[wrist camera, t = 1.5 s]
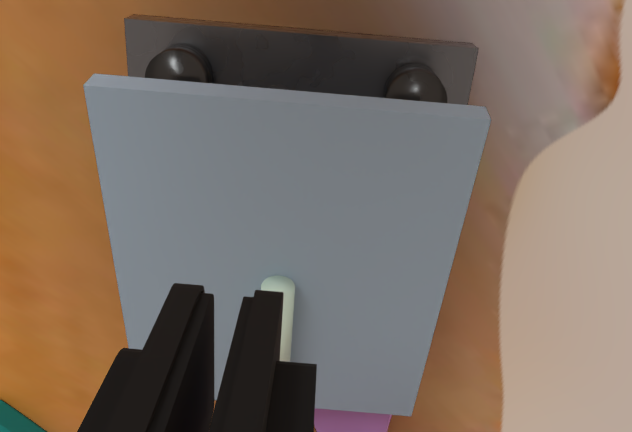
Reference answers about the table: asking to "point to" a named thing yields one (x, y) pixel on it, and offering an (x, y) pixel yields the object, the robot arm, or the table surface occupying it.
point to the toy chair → (350, 421)
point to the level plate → (290, 218)
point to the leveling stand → (299, 59)
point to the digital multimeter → (15, 420)
